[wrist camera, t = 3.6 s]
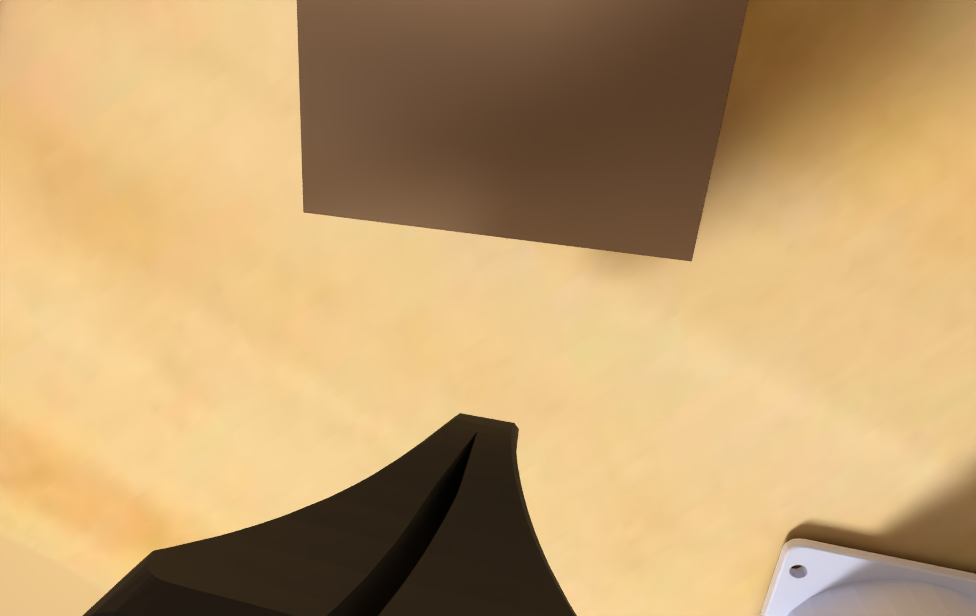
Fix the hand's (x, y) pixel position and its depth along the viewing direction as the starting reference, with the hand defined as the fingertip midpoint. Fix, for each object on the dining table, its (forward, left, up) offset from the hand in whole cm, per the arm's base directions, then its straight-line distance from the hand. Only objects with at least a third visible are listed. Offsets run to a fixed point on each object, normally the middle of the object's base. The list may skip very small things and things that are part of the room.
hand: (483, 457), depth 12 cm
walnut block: (+7, 0, -6) cm, 9 cm away
